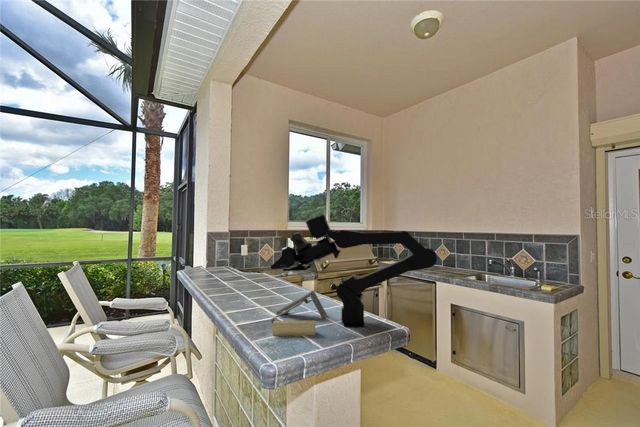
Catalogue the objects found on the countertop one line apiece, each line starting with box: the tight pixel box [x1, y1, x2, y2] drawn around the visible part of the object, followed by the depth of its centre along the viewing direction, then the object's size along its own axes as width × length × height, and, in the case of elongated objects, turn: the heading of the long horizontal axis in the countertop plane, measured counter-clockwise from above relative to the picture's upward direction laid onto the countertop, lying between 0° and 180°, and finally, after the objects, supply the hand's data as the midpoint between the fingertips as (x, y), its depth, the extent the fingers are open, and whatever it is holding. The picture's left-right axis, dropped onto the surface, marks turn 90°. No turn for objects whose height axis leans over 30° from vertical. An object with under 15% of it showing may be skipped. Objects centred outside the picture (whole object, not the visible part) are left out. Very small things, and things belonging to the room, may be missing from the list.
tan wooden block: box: [272, 320, 316, 337], centre depth 82 cm, size 12×3×4 cm, turn 90°
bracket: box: [270, 290, 328, 324], centre depth 95 cm, size 10×14×10 cm
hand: (277, 268), depth 96 cm, fingers open, 9 cm apart
